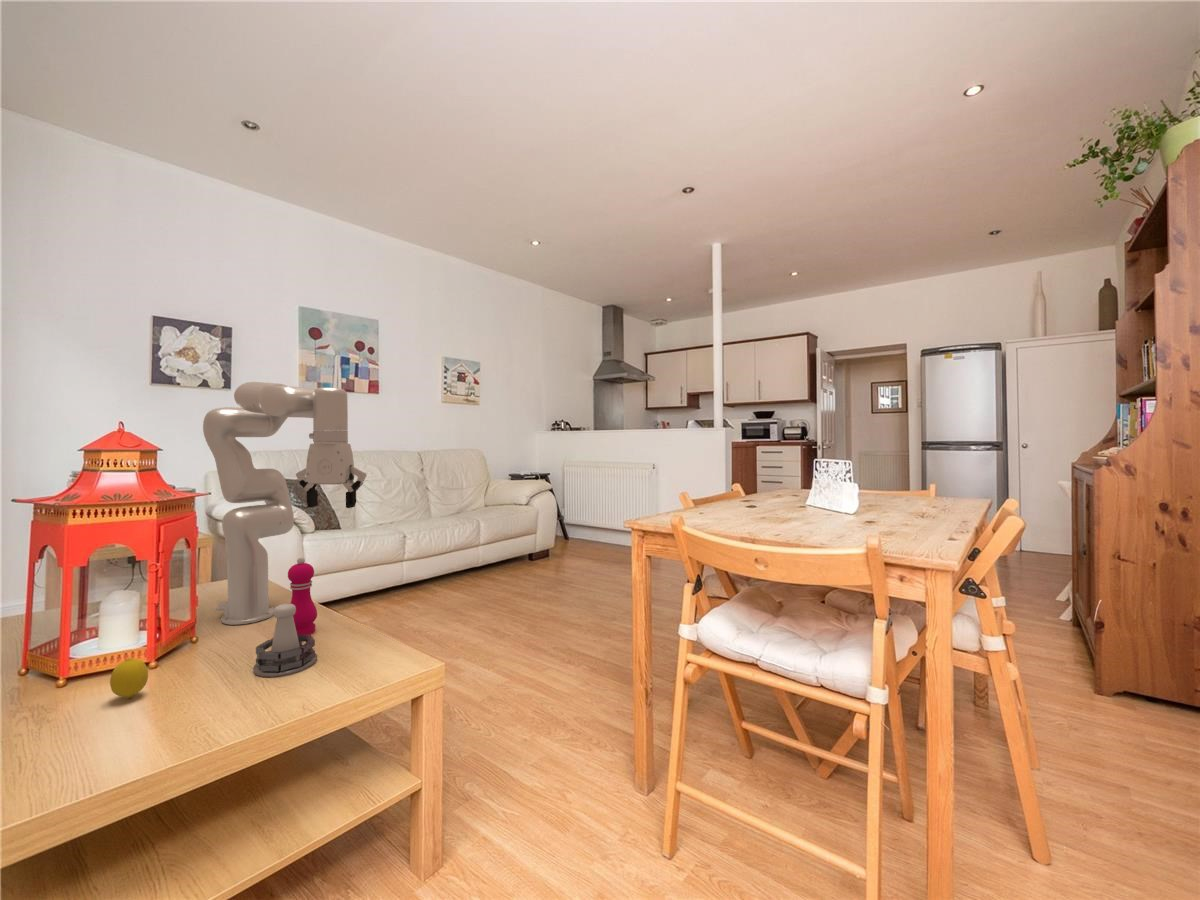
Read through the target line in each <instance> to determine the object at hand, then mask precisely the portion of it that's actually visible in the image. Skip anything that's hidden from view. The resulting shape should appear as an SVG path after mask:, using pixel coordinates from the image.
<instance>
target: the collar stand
mask: <svg viewBox="0 0 1200 900" xmlns="http://www.w3.org/2000/svg"><path fill="white" fill-rule="evenodd" d="M297 636H298V640H299V645H300V647H299V648H295V649H291V650H287V651H282V652H271V650H269V648H272V643H273V638H274V637H272V638H270V639H267V640H265V641H263V642H262V643H260V644H258V645H257V646H255V654H256V659H255V664H254V665H253V667H252V672H253V674H254V676H257V677H259V678H268V679H269V678H280V677H285V676H292V675H294V674H297V673H300V672H303V671H305V670H307V669H309V668H311V667H313V665H315V664H316V663H317V662H318V655H317V653H316V650H315V649H314V647H315V646H316V640H315V638H314V637H313V636H312V634H310V635H308V634H297ZM303 642H305V643H304V644H303ZM266 650H268V651H266ZM292 656H295V660H293V661H289V662H285V663H281V664H277V663H275V662H274V661H273V660H279V659H285V658H288V657H292Z"/></svg>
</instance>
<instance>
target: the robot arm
mask: <svg viewBox="0 0 1200 900" xmlns="http://www.w3.org/2000/svg"><path fill="white" fill-rule="evenodd" d="M233 399H234V401H235V403H236V404H237V405H238V407H234V406H233V407H228V406H227V407H225V406H224V407H217V408H213V409H211V410H208V412H207V413H206V414H205V416H204V419H203V423H202V432H203V436H204V438H205V442H206V444H207V446H208V448H209V450H210V451H211V453H212V455H213V458H214V462H215V466H216V470H217V471H216V472H217V474H218V475H217V476H218V480H219V485H220V489H221V490H220V491H221V494H222V496H223V498H224V499H225V501H226V502H228V503H230V504H246V503H255V502H262V501H263V502H264V503H265V504H256V505H255V504H253V505H247V506H240V507H236V508H233V509H231V510H229V511H227V512H226V513H225V514H224V516H223V518H222V522H221V525H222V533H223V536H224V539H225V547H226V565H227V570H226V572H227V573H226V574H227V601H220V602H218V605H217V606H216V607H215V610H216V611H217V612H218V611H219V612H222V611H224V612H223V613H224V614H223V615H222V616H221V618H220V619H221V623H223V624H225V625H228V626H229V625H230V626H231V625H232V626H233V625H235V626H237V625H247V624H253V623H258V622H261V621H263V620H267V619H269V618H271V617H274V613H273V612H274V608H275V607H273V606H270V605H269V602H270V601H269V598H270V597H269V556H268V555H269V554H268V551H267V549H266V548H265V547H264V546H263V545H262V544H261V542H260V541H259V539H264V538H269V537H275V536H280V535H285V534H287V533H290V532H291V530H292V529H293V527H294V523H295V519H294V518H295V517H294V511H293V506H292V502H291V498H290V492H289V487H288V485H287V481H286V477H285V476H284V475H283V473H282V472H280V471H279V470H277V469H276V468H275V469H274V468H256V467H255V466H254V464H253V458H252V454H251V453H250V451H249V449H248V448H246V447H245V445H244V444H242V443H241V442H240V441H239V440H237V439H236V438H268V437H272V436H274V435H275V434H276V433H277V432H279V429H281V427H282V426H283V424H284V423H285V422H286V421H287V419H288V418H309V419H312V420H313V421H312V424H313V428H312V429H313V430H312V433H309V434H308V438H309V439H312V441H313V443H310V444H309V446H308V451H307V456H306V457H307V458H306V466H305V467H306V468H304V469H301V470H300V471H298V472H297V473H295V477H296V478H297V480H298V481H299V485H300V486H301V487H302V488H303V490H304V492H306V504H307V505H306V506H307V508H311V509H312V508H315V507H317V506H318V504H319V503H318V501H319V497H318V495H319V494H318V493H319V492H318V489H317V487H318V486H319V485H342V486H344V488H345V489H346V490H347V491H346V492H345V508H346V509H351V508H355V507H356V504H357V491H359V488H361V486H362V485H363V484H364V482H365V480H366V477H367V473H366V472H364V471H362V470H360V469H358V468H356V467H355V462H354V455H353V451H352V450H353V449H352V446H351V443H349V431H348V430H349V429H348V427H349V426H348V425H349V424H348V419H349V418H348V417H349V416H348V415H349V414H348V413H349V412H348V410H349V409H348V393H347V391H346V390H345V389H343V388H340V387H339V388H338V387H318V388H313V387H304V386H303V387H301V386H288V385H285V384H282V383H276V382H275V383H273V382H263V381H248V382H247V381H246V382H245V383H242V384H240V385H239V386H238V387H236V389H235V391H234V394H233ZM355 476H356V477H357V478H356V481H354V480H355Z"/></svg>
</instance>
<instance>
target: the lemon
mask: <svg viewBox="0 0 1200 900" xmlns="http://www.w3.org/2000/svg"><path fill="white" fill-rule="evenodd" d="M148 680H149V671H148V667H147V665H146V663H145V662H144V661H143V660H141V659H137V658H132V657H128V658H126V659H125V660H124V661H121V662H119V664H117V666H115V667H114V669H113V670H112V673H111V675H110V680H109V681H110V682H109V685H110V689H111V692H112V693H113V694H114V695H116V696H118V697H121V698H123V697H124V698H126V699H131V698H130V697H132V698H133V697H134V696H135V695H136V694H138V693H140V692H141V691H142V690H143V689H144V687H145V686H146V685H147V683H148Z"/></svg>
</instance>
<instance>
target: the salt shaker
mask: <svg viewBox="0 0 1200 900" xmlns="http://www.w3.org/2000/svg"><path fill="white" fill-rule="evenodd" d="M273 608H274V612H273V613H274V615H273V617H274V618H275V619H276V621H275V627H274V633H273V637H272V638H273V643H272V646H271V647H270V651H271V652H282V651H287V650H291V649H295V648H299V647H300V645H299V640H298V636H297V631H296V627H295V623H294V618H293V615H294V614H295V612H296V607H295V605H293V604H290V603H283V604H280V605H276V606H275V607H273ZM293 660H295V656H292V657H288V658H285V659H279V660H273V661H274V662H275V663H277V664H281V663H285V662H289V661H293Z"/></svg>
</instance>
